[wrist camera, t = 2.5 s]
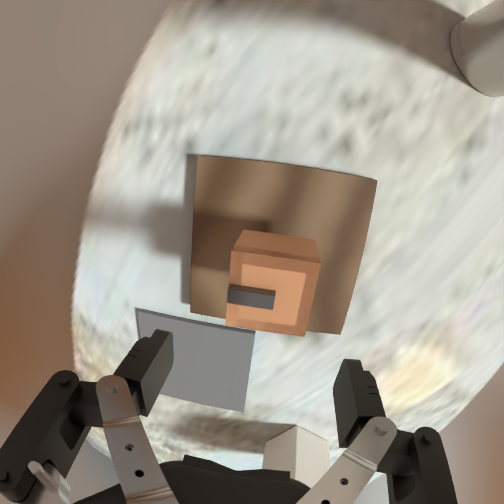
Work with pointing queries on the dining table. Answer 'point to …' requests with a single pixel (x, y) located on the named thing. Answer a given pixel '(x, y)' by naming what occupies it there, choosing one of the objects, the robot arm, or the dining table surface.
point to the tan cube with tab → (272, 282)
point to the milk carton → (298, 455)
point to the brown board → (279, 227)
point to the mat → (204, 360)
